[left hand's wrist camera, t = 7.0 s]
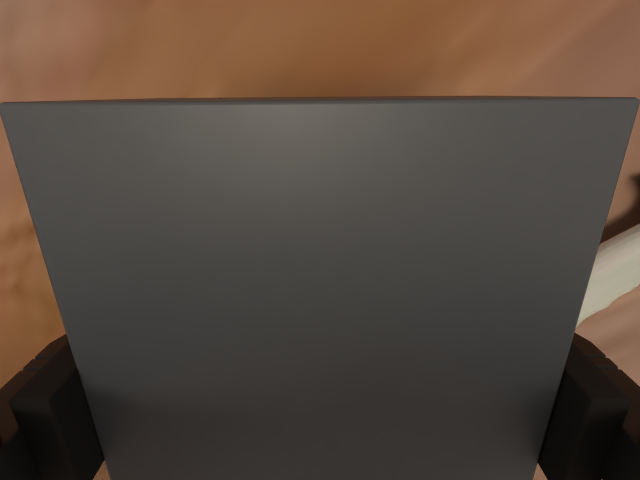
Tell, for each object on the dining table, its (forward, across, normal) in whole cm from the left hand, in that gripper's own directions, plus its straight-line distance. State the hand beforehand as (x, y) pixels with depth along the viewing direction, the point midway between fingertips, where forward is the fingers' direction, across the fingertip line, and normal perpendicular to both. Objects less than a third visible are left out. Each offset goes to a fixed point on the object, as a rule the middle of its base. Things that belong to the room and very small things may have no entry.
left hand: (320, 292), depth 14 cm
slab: (+1, 0, -33) cm, 33 cm away
